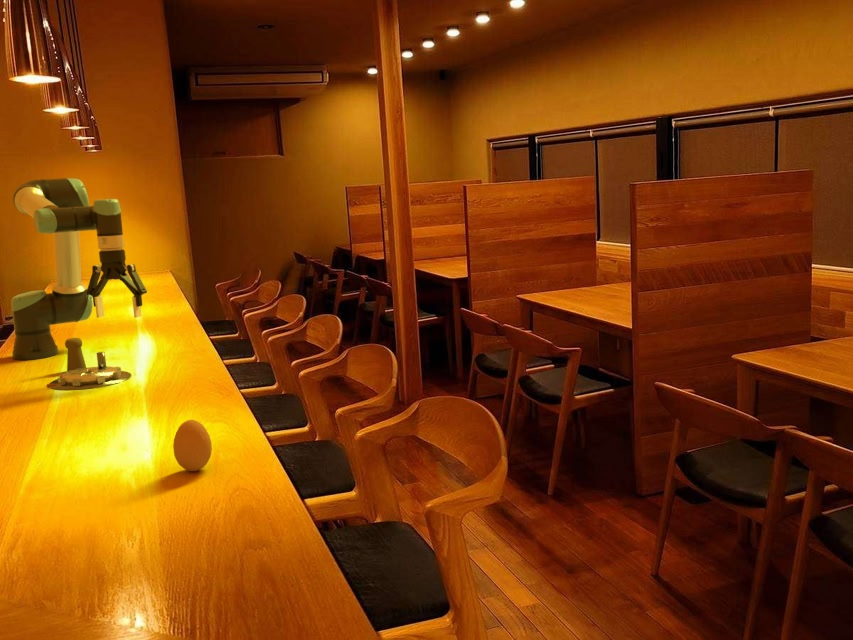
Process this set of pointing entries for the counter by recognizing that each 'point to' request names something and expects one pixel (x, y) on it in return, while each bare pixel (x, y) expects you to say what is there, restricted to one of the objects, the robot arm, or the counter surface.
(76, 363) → the pepper mill
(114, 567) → the counter surface
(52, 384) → the plate
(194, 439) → the egg
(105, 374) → the sprocket
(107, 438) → the counter surface
